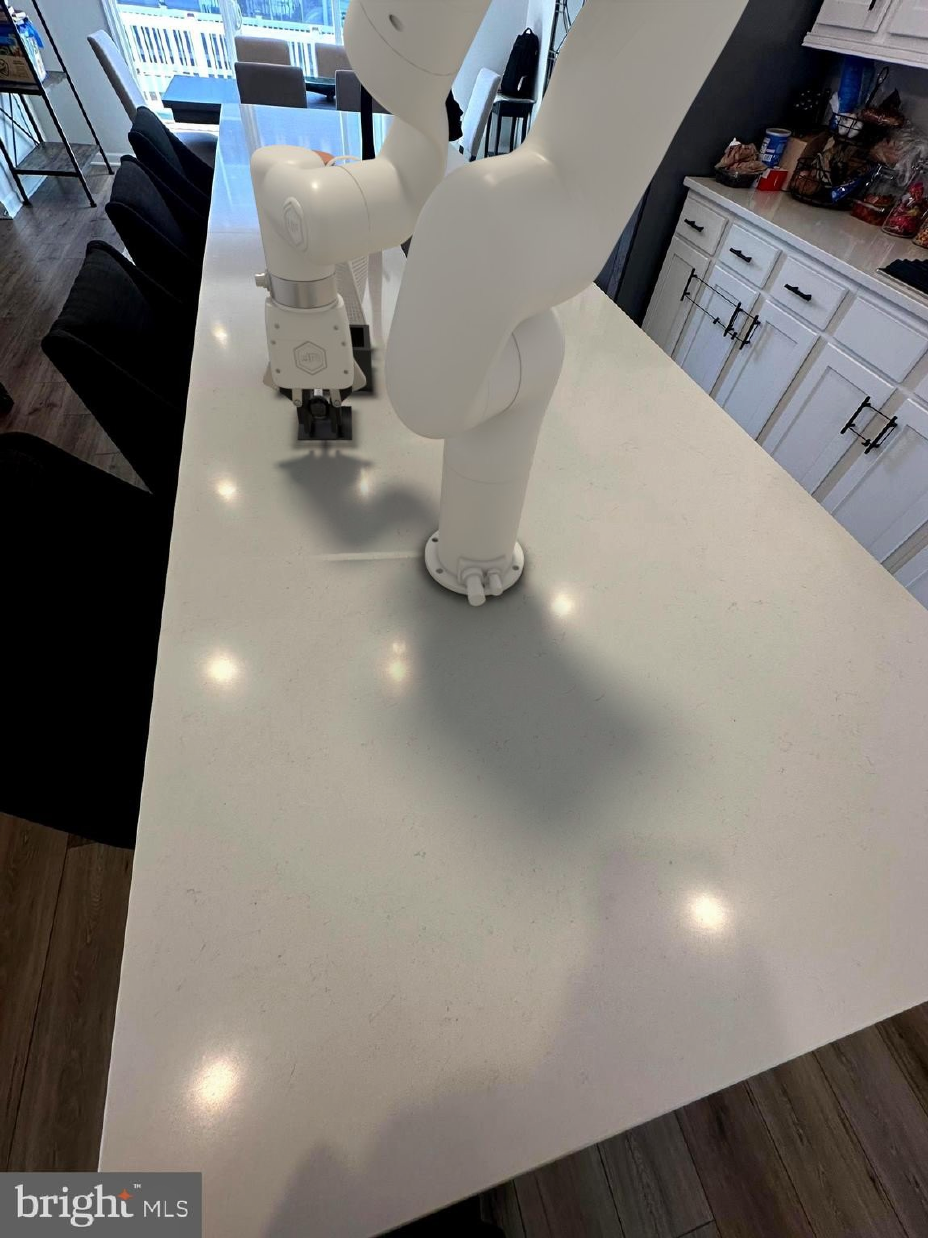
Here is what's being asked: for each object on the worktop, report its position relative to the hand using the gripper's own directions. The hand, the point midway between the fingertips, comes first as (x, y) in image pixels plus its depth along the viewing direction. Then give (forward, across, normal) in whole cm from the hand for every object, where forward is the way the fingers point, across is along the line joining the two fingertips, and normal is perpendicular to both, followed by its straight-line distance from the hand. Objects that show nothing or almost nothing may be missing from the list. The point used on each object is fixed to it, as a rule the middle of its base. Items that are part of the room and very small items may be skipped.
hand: (321, 426), depth 79 cm
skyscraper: (+5, +4, +34) cm, 34 cm away
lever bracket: (+5, 0, +8) cm, 9 cm away
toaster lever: (-3, 0, +4) cm, 5 cm away
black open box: (+5, 0, +22) cm, 22 cm away
